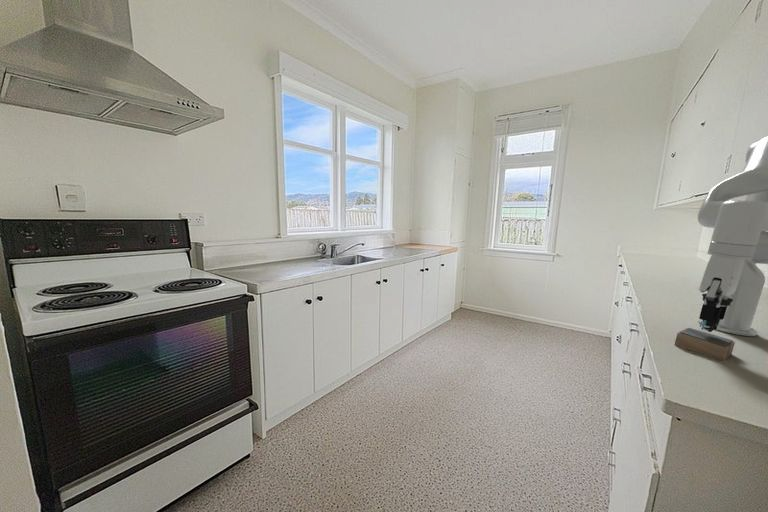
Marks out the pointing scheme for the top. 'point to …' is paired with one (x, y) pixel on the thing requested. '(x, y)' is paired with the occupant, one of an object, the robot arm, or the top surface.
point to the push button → (710, 325)
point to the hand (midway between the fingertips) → (711, 318)
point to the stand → (705, 343)
